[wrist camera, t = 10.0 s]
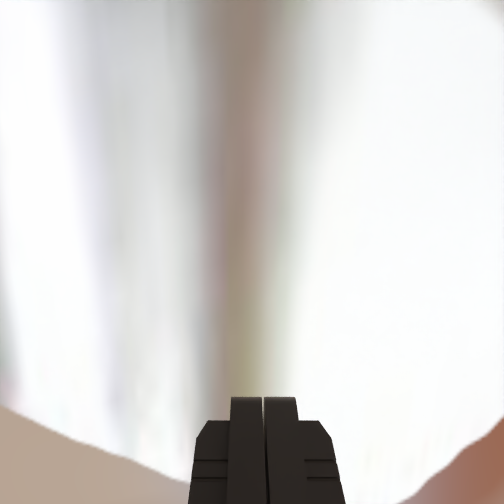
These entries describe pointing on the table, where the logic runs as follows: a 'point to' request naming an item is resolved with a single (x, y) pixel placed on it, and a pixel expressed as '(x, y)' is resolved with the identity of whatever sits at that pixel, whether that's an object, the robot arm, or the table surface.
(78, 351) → the table surface
